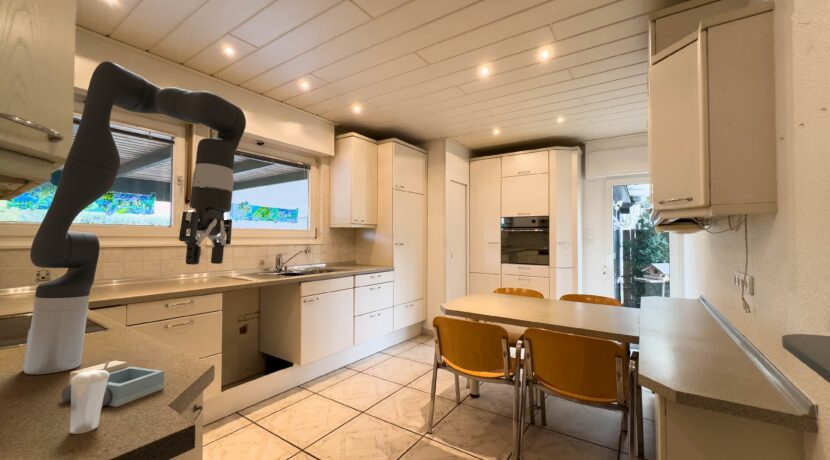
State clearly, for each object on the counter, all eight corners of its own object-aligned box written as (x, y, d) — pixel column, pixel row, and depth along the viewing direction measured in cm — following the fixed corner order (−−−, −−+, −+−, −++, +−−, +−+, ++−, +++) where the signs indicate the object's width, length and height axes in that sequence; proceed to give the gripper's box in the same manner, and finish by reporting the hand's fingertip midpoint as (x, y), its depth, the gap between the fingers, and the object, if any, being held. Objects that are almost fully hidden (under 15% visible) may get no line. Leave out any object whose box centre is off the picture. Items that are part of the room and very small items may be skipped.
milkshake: (115, 420, 57) (122, 360, 58) (85, 436, 51) (93, 370, 52) (88, 419, 56) (95, 359, 57) (55, 436, 51) (64, 369, 52)
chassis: (56, 400, 63) (59, 375, 63) (120, 380, 74) (122, 358, 75) (109, 409, 60) (112, 382, 61) (167, 386, 71) (170, 364, 72)
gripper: (213, 194, 78) (206, 262, 77) (171, 179, 64) (162, 263, 62) (246, 195, 78) (239, 264, 77) (211, 181, 64) (202, 265, 63)
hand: (205, 264), depth 70 cm, fingers open, 8 cm apart
